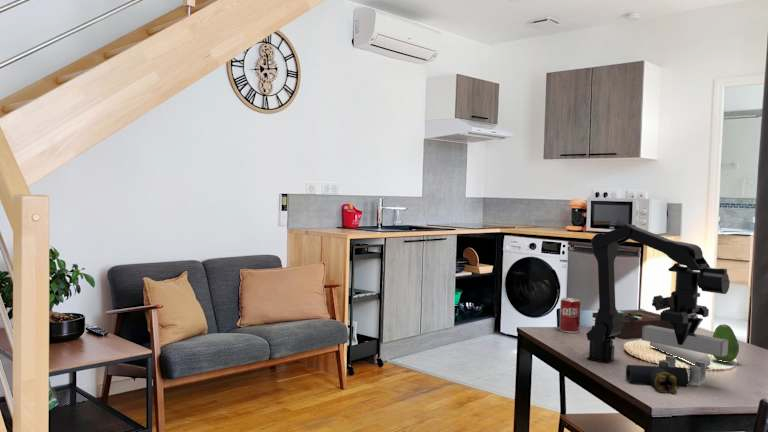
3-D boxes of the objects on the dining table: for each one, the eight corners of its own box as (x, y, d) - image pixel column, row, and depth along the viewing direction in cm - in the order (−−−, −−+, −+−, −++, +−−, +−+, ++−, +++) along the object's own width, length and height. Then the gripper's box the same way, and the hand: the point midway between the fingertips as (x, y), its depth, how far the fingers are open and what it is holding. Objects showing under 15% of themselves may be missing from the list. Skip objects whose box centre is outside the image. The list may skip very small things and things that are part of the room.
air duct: (727, 354, 169) (728, 339, 169) (721, 356, 166) (722, 341, 166) (648, 338, 185) (648, 324, 185) (641, 340, 183) (642, 325, 182)
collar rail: (657, 378, 176) (658, 359, 176) (664, 372, 183) (665, 354, 182) (699, 386, 170) (700, 367, 169) (706, 380, 176) (707, 361, 176)
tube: (717, 357, 188) (665, 336, 212) (702, 351, 187) (652, 331, 211) (710, 373, 188) (660, 351, 212) (696, 368, 187) (647, 346, 211)
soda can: (581, 333, 230) (583, 301, 230) (562, 333, 230) (563, 300, 230) (576, 329, 237) (577, 298, 237) (557, 328, 238) (558, 297, 237)
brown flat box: (685, 317, 232) (621, 320, 221) (684, 337, 232) (620, 341, 221) (646, 307, 250) (585, 310, 239) (645, 326, 250) (584, 329, 239)
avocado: (704, 359, 199) (706, 322, 199) (725, 358, 201) (727, 321, 200) (722, 366, 191) (724, 327, 191) (744, 365, 193) (746, 327, 193)
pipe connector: (698, 376, 162) (639, 373, 163) (697, 396, 162) (638, 393, 163) (681, 365, 173) (626, 362, 175) (680, 384, 174) (625, 380, 175)
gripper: (671, 282, 187) (668, 333, 188) (643, 287, 175) (640, 342, 176) (710, 287, 179) (707, 341, 180) (683, 293, 167) (680, 350, 167)
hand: (683, 343), depth 176 cm, fingers closed on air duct, 4 cm apart
